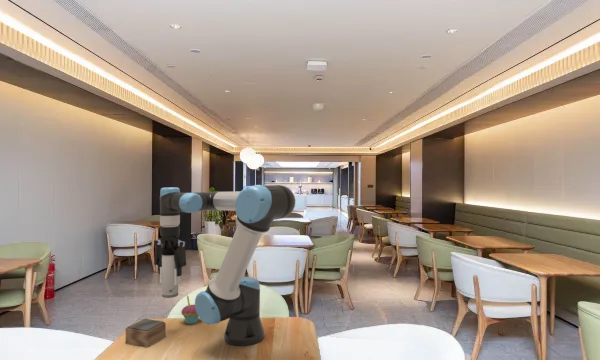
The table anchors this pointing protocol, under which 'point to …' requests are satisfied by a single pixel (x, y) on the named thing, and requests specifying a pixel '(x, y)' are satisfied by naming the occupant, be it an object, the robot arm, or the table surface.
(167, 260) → the travel mug
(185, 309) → the cupcake
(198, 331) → the table surface
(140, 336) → the walnut stand
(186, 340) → the table surface
